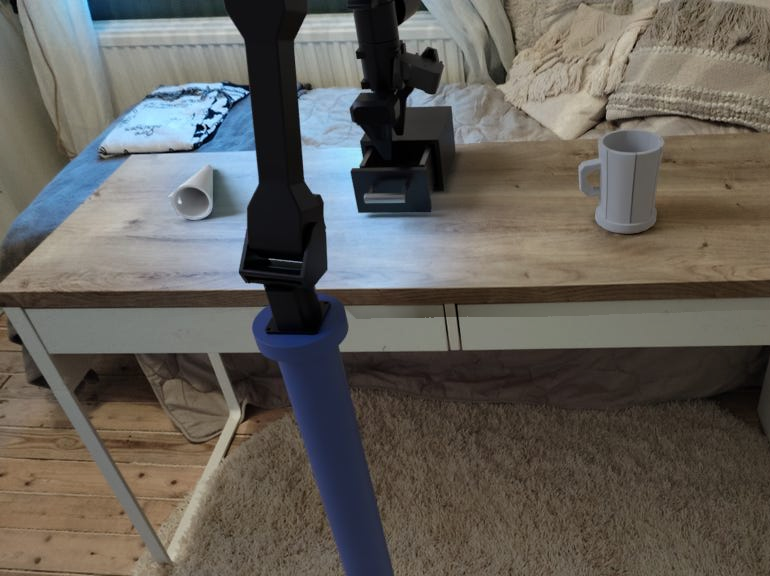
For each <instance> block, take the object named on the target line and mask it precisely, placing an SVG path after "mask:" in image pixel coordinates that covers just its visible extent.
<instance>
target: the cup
mask: <svg viewBox="0 0 770 576" xmlns="http://www.w3.org/2000/svg"><path fill="white" fill-rule="evenodd" d="M597 143H598V144H597V145H598V146H597V147H598V157H597V158H592V159H588V160H583V161H582V162H581V163H580V164H579V165H578V168H577V169H578V187H579V190H580V192H582V193H583V195H585V196H586V197H587V198H598V205H597V206H596V207H595V213H594V214H595V217H594V220H595V222H596V224H597V225H598V226H600V228H602V229H604V230H605V231H608V232H611V233H615V234H620V235H632V234H638V233H642V232H645V231H647V230H649V229H650V228H652V227H653V226H654V225H655V223H656V222H657V215H658V212H657V208H656V206H655V205H656V197H657V189H658V182H659V176H660V170H661V165H662V164H661V163H662V160H663V155H664V149H665V139H664V138H663V136H662V135H660V134H658V133H656V132H652V131H650V130H647V129H646V130H645V129H639V128H624V129H615V130H612V131H608V132H607V133H605V134H602V135H601V137H600V138H598V142H597ZM593 172H598V179H599V185H598V186H592V185H591V184H590V182H589V181H588V179H587V177H588V176H589V175H590V174H591V173H593Z"/></svg>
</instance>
